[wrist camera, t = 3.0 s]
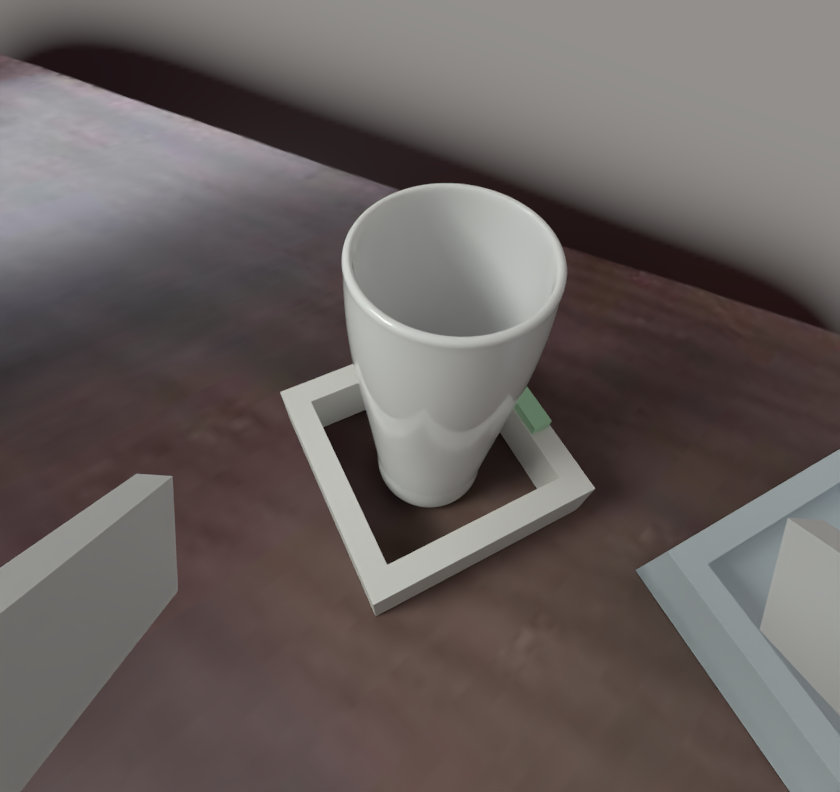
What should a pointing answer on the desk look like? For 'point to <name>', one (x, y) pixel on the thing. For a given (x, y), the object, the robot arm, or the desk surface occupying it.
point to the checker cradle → (461, 548)
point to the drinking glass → (446, 327)
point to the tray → (755, 624)
